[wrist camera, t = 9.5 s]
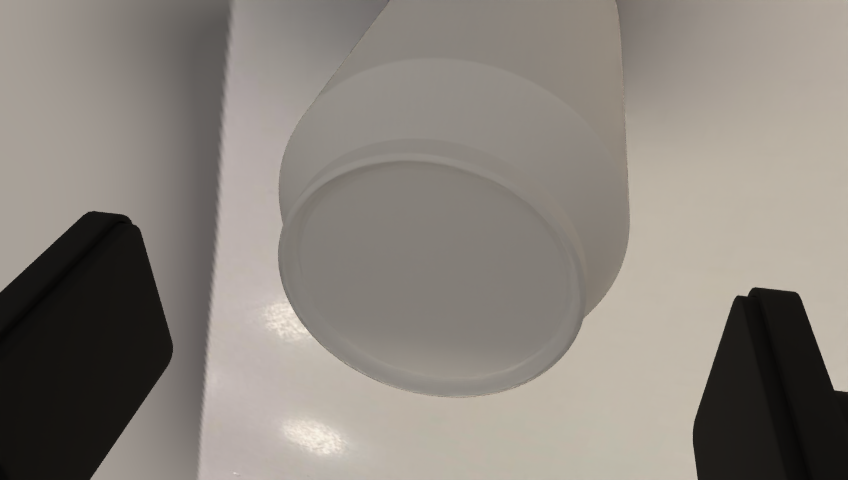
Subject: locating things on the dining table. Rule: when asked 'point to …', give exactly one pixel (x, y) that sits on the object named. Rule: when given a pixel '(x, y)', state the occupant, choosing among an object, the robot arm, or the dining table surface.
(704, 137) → the dining table surface
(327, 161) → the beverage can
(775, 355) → the robot arm
